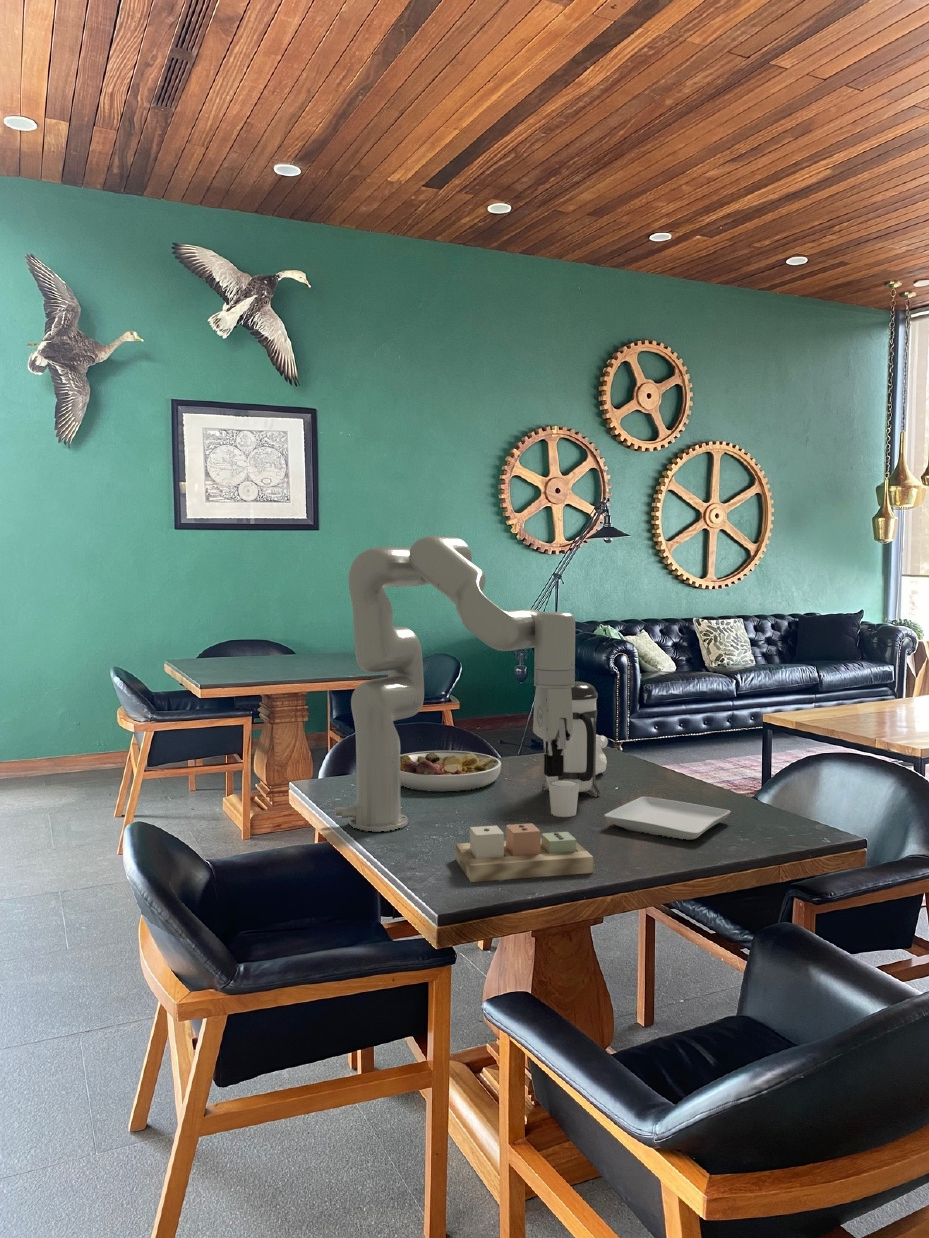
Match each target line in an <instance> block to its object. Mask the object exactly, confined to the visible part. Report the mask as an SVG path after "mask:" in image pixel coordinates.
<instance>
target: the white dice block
mask: <svg viewBox="0 0 929 1238" xmlns="http://www.w3.org/2000/svg"><path fill="white" fill-rule="evenodd" d="M504 841H505V833H504V832H503V831H502V829H501V828H500V827H499V826H498V825H486V826H470V827H469V843H470V853H471V854H472V856H473V857H474V859H478V858H492V857H504Z"/></svg>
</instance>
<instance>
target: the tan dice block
mask: <svg viewBox="0 0 929 1238" xmlns="http://www.w3.org/2000/svg"><path fill="white" fill-rule="evenodd" d="M541 837H542V832H541V830H540V829H539V828H538V826H536V825H535V824H534V823H516V824H506V825H505V840H506V850H507V851H508V852H509V853H510V855H511V856H521V855H536V854H540V841H541Z"/></svg>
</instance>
